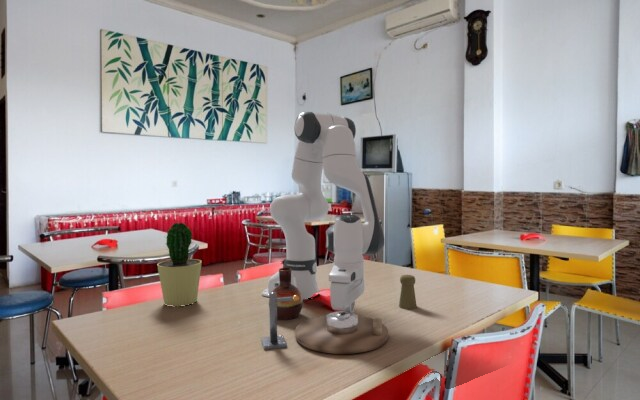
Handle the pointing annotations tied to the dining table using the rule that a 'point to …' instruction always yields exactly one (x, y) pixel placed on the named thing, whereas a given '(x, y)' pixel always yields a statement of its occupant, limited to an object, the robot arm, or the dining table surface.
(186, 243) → the potted cactus
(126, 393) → the dining table surface
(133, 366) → the dining table surface
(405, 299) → the olive pawn
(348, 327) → the aluminium cover
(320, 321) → the lazy susan
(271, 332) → the post
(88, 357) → the dining table surface
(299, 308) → the vase
